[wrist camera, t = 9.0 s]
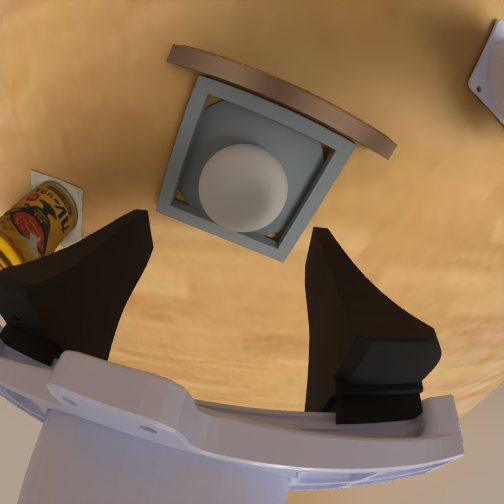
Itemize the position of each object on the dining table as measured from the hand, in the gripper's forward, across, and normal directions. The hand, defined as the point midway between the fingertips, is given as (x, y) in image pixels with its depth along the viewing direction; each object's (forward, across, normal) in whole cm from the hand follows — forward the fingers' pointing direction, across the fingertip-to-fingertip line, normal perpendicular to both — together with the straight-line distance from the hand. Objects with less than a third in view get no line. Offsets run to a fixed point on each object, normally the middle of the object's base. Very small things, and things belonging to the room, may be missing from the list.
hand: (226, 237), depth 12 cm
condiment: (+10, +20, +6) cm, 23 cm away
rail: (+10, -2, -5) cm, 11 cm away
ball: (+9, 0, +1) cm, 9 cm away
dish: (+10, 0, +1) cm, 10 cm away
